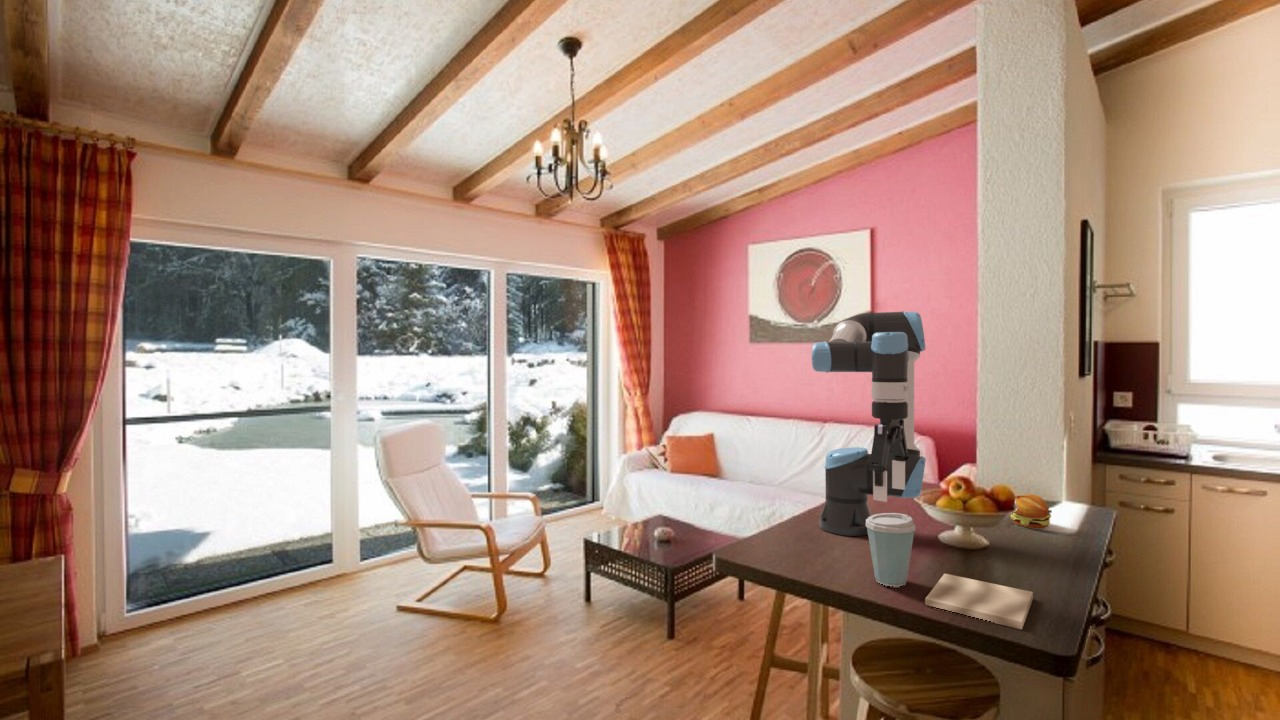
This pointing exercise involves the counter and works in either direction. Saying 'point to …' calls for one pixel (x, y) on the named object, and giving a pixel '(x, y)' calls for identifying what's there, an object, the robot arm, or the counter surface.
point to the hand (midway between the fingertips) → (889, 494)
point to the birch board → (981, 600)
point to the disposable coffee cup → (890, 547)
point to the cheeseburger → (1031, 512)
